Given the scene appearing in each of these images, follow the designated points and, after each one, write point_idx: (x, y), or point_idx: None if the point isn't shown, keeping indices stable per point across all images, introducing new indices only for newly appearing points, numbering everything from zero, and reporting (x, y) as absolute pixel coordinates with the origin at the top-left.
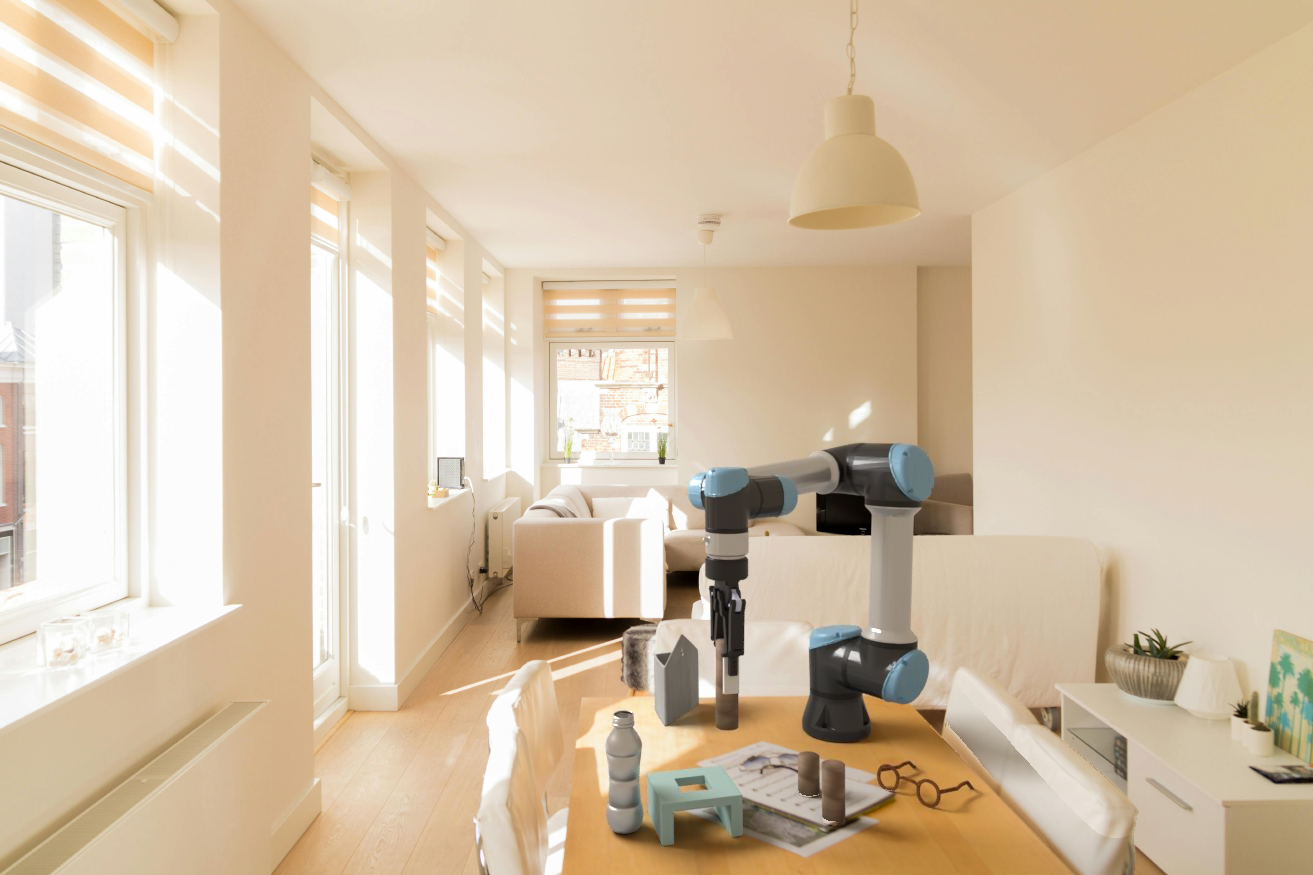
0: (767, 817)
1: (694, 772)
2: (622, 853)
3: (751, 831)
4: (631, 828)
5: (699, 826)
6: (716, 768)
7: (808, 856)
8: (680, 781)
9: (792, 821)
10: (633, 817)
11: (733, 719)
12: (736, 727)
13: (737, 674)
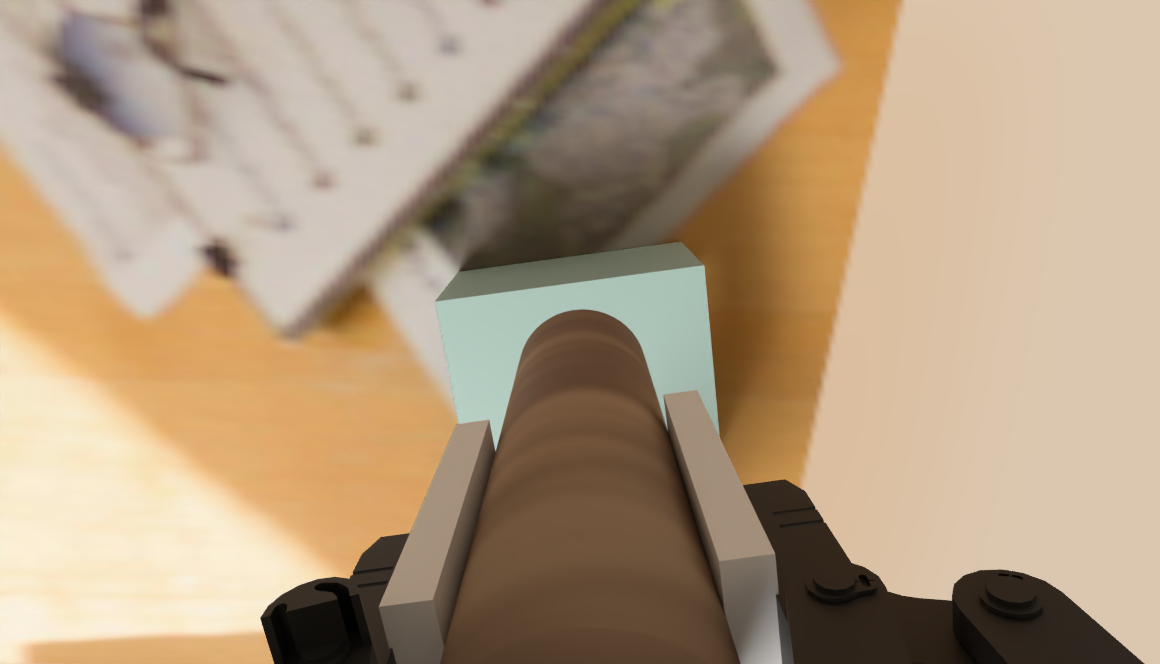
0: (575, 135)
1: (494, 413)
2: None
3: (659, 209)
4: None
5: None
6: (465, 327)
7: (838, 56)
8: None
9: (612, 51)
10: None
11: (645, 362)
12: (627, 328)
13: (792, 485)
